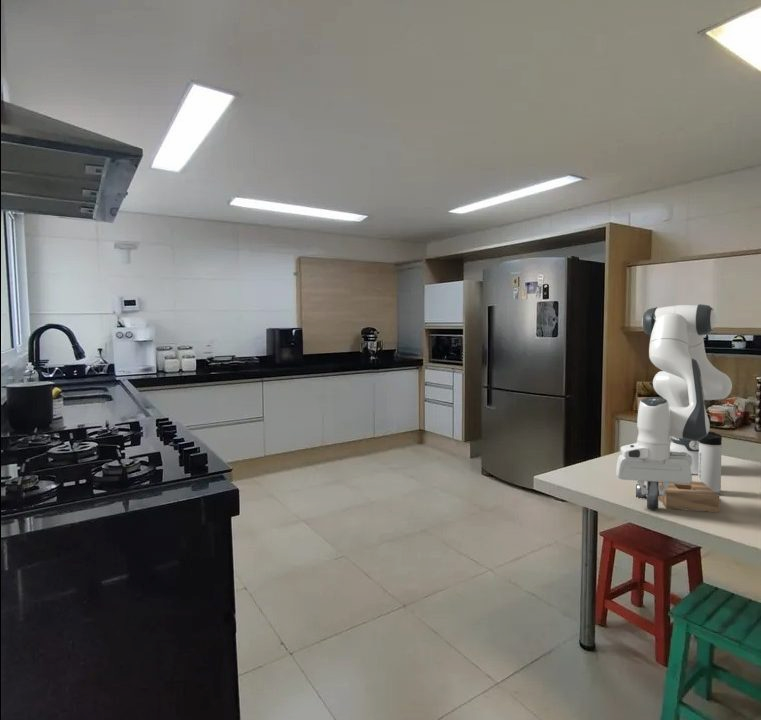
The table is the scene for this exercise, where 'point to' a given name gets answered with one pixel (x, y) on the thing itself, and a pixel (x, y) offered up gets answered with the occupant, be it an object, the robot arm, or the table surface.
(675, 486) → the hole block
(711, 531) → the table surface
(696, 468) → the robot arm
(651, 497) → the tall pin
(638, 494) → the short pin
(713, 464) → the travel mug
